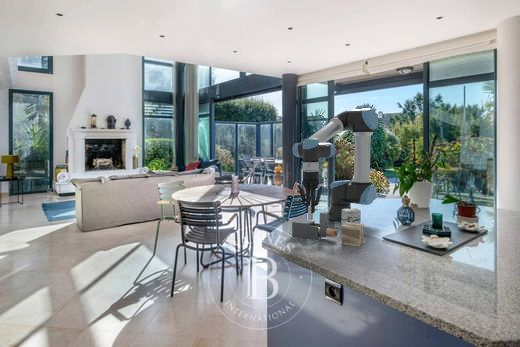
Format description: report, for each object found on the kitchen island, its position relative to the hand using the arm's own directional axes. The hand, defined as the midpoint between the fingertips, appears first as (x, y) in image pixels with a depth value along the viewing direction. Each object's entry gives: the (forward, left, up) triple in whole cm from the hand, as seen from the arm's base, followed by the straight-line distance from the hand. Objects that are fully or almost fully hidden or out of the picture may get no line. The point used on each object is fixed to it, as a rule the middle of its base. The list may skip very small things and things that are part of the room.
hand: (310, 219), depth 161 cm
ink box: (-19, +15, -9) cm, 26 cm away
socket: (0, +20, -9) cm, 22 cm away
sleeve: (0, -1, -9) cm, 9 cm away
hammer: (0, +4, -7) cm, 8 cm away
